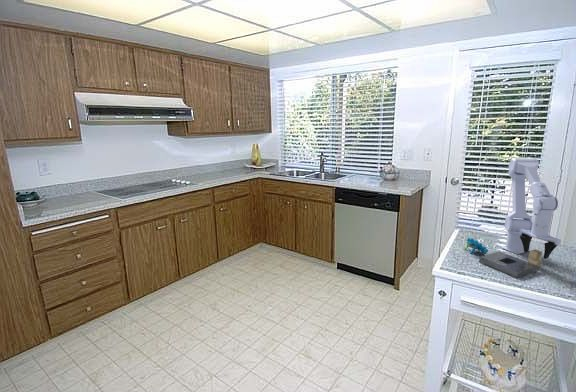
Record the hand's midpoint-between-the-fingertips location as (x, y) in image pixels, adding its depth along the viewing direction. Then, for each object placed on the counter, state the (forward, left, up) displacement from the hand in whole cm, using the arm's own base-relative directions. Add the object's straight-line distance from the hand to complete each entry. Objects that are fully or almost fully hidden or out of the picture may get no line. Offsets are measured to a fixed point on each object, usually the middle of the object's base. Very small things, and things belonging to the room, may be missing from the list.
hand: (535, 254), depth 132 cm
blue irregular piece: (+9, -20, -6) cm, 23 cm away
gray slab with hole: (+10, -5, -5) cm, 13 cm away
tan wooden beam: (0, 0, -5) cm, 5 cm away
